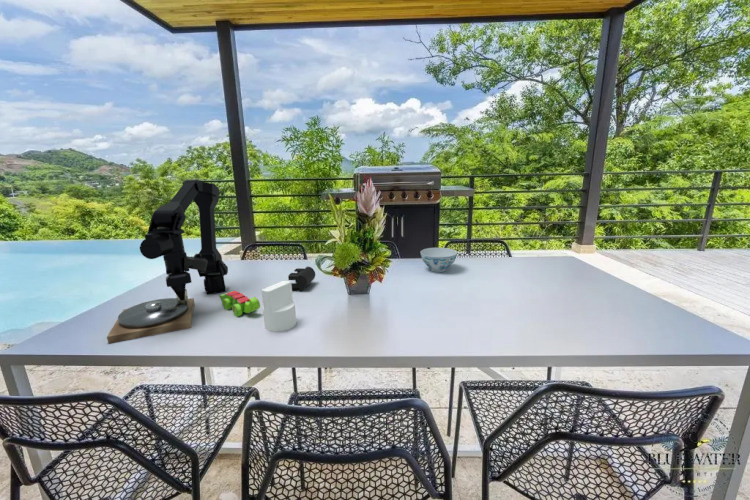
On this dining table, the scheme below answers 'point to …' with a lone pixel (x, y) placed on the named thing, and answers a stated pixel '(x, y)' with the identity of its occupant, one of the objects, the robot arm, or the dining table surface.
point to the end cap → (301, 278)
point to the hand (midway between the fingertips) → (182, 300)
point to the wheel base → (152, 327)
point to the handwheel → (153, 312)
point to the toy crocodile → (239, 303)
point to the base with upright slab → (278, 307)
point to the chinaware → (438, 258)
